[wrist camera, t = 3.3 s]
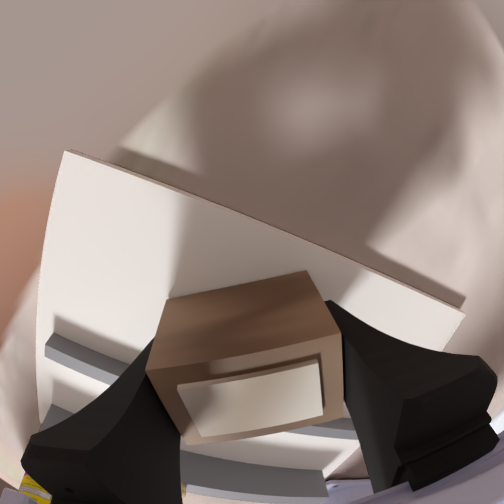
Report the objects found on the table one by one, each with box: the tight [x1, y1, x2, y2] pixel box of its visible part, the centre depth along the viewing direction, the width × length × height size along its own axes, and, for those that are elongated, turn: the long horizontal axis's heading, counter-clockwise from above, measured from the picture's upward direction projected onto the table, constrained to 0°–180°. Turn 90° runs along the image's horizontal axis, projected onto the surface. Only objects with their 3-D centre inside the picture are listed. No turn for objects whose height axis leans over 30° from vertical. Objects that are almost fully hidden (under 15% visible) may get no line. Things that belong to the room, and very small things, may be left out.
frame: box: [145, 270, 344, 445], centre depth 11 cm, size 6×4×4 cm
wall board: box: [36, 150, 466, 504], centre depth 13 cm, size 20×17×4 cm
